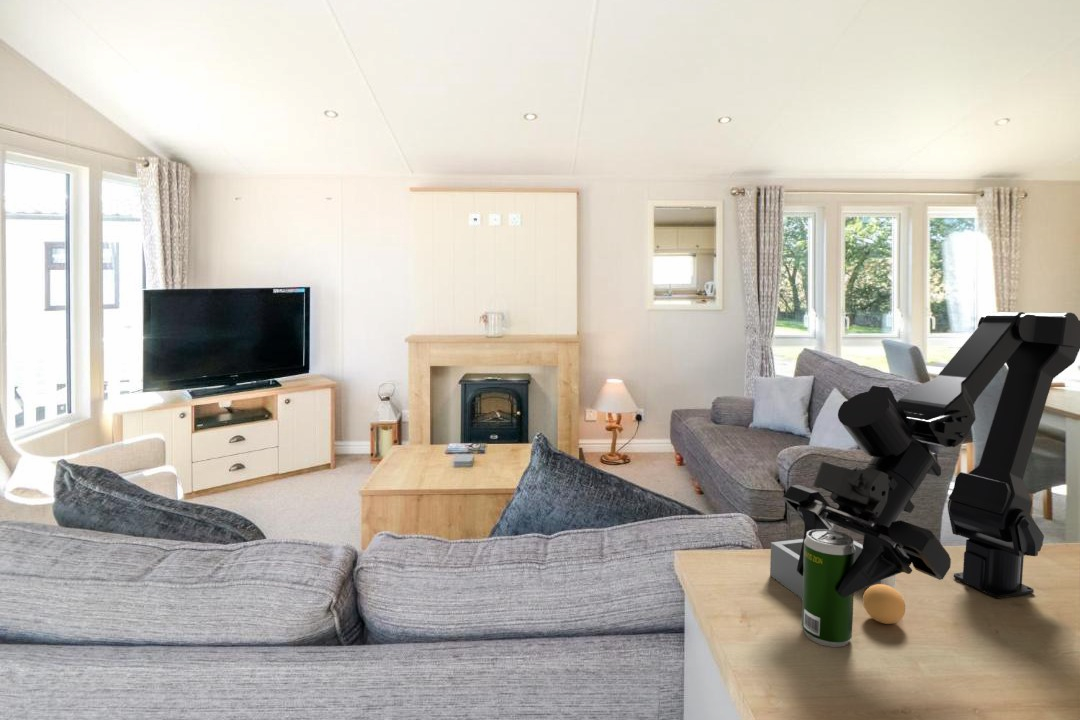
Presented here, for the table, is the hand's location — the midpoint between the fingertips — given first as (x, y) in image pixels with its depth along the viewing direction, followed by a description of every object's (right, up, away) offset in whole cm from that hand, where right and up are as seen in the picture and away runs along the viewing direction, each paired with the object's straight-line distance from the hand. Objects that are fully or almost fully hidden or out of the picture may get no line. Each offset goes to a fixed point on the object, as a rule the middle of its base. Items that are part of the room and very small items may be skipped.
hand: (819, 583), depth 66 cm
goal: (+8, -5, +13) cm, 16 cm away
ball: (+10, -6, +4) cm, 12 cm away
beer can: (+1, -7, +1) cm, 7 cm away
